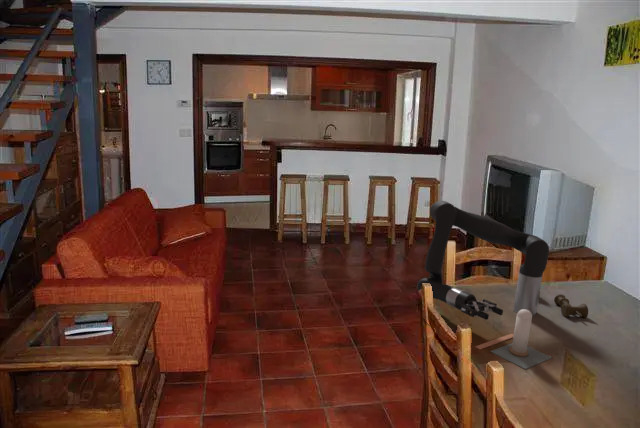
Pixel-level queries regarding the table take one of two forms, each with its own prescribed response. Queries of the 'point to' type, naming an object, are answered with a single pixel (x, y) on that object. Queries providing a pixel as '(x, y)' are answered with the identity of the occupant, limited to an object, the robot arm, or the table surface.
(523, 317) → the skittle
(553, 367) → the table surface
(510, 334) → the distance line
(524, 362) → the mat
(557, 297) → the kendama
